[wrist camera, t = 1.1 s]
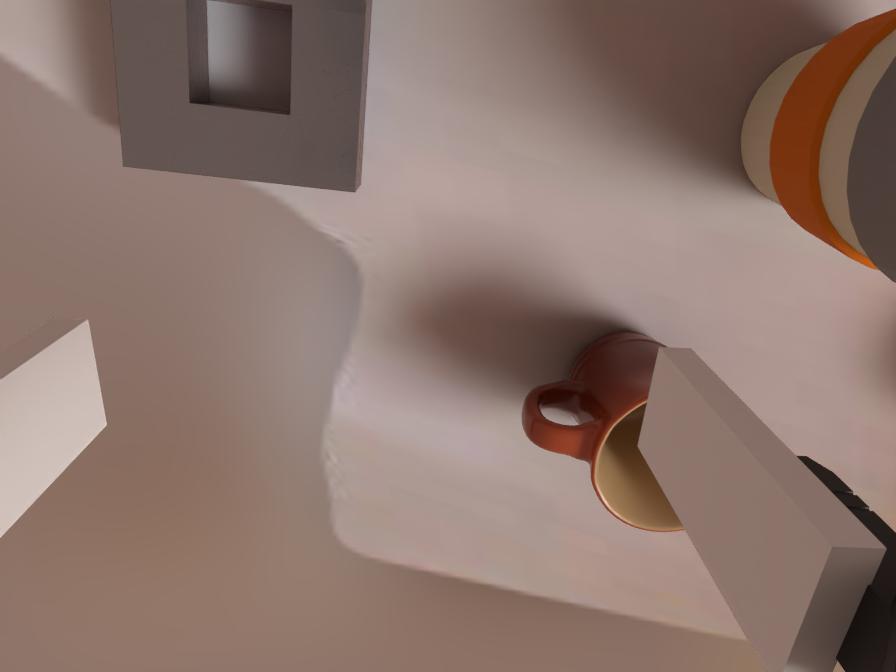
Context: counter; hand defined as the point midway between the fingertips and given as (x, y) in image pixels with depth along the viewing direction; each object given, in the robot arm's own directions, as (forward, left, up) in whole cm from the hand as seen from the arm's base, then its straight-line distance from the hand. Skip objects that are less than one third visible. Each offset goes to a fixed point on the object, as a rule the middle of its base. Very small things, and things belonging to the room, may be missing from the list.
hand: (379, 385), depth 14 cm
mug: (+9, +13, -23) cm, 29 cm away
